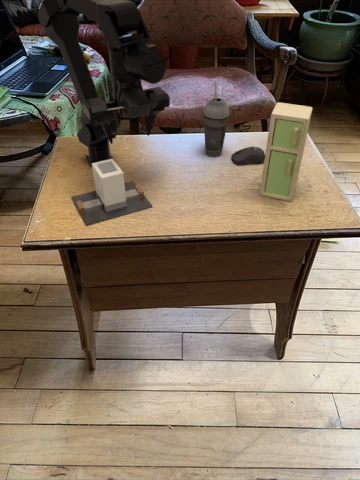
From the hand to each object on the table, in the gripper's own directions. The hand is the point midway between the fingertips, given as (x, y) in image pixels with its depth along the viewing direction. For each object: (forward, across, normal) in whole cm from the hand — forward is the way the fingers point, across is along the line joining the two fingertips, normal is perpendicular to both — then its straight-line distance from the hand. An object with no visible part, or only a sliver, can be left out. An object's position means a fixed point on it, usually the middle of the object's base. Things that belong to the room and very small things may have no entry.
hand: (129, 138), depth 96 cm
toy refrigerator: (+12, +30, -20) cm, 38 cm away
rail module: (+12, -8, -6) cm, 15 cm away
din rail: (+12, -8, -6) cm, 16 cm away
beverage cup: (+12, +26, +4) cm, 29 cm away
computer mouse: (+12, +33, -4) cm, 35 cm away
